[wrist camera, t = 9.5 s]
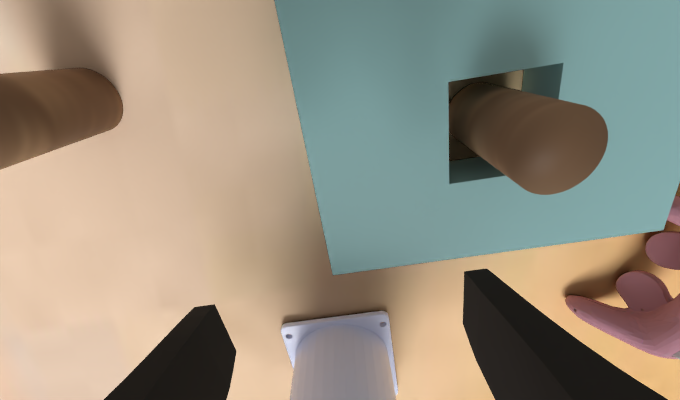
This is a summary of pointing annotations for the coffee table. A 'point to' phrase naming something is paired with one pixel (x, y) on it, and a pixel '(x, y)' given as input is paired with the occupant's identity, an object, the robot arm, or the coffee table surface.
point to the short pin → (529, 135)
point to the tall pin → (53, 111)
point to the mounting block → (433, 121)
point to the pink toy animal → (642, 301)
